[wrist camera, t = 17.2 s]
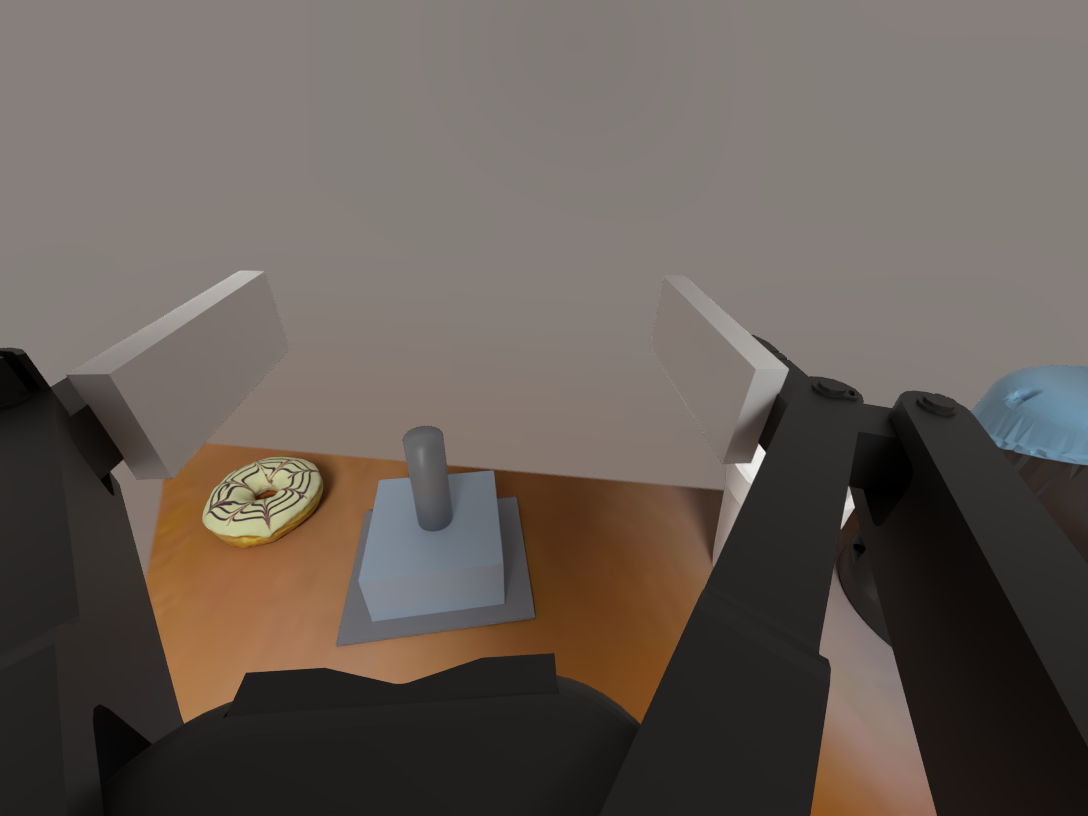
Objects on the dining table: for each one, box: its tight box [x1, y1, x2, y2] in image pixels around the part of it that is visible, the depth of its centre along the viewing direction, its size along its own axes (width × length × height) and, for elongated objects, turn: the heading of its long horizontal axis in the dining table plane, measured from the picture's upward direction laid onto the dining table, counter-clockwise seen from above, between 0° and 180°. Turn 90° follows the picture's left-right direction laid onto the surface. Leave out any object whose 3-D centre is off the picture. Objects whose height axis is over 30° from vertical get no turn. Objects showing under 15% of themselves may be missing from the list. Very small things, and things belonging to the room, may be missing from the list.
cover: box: [358, 426, 505, 622], centre depth 37 cm, size 11×11×15 cm
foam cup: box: [712, 445, 855, 567], centre depth 38 cm, size 10×9×13 cm
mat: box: [336, 497, 535, 647], centre depth 41 cm, size 16×14×1 cm
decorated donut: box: [203, 457, 323, 548], centre depth 45 cm, size 10×11×4 cm
